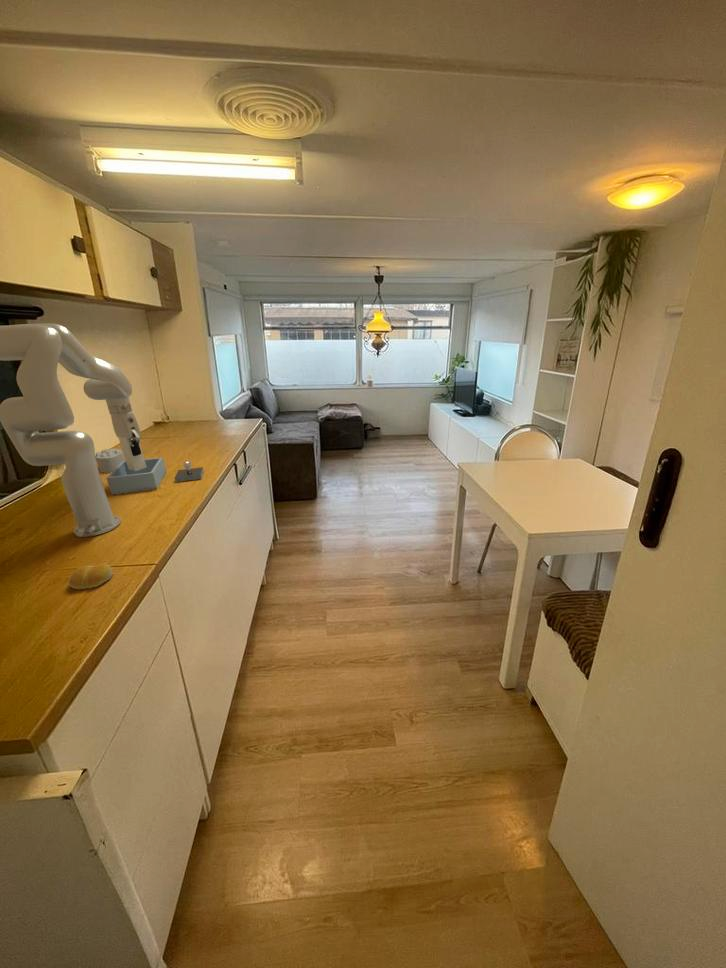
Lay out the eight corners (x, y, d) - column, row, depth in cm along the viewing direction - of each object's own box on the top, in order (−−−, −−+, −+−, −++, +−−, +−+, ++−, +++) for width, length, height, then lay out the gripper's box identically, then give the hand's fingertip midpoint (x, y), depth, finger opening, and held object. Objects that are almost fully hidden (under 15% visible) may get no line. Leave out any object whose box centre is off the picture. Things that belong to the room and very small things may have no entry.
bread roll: (106, 587, 92) (101, 574, 90) (65, 593, 90) (59, 579, 89) (119, 568, 99) (115, 555, 98) (82, 572, 98) (77, 560, 96)
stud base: (201, 479, 157) (198, 463, 154) (175, 482, 154) (171, 466, 151) (203, 471, 165) (200, 456, 163) (179, 474, 163) (175, 459, 160)
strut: (146, 467, 154) (137, 434, 148) (135, 471, 150) (125, 437, 144) (139, 465, 156) (130, 433, 150) (128, 469, 152) (118, 436, 146)
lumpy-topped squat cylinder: (127, 462, 180) (122, 445, 177) (124, 471, 169) (119, 452, 166) (101, 466, 176) (96, 449, 173) (97, 475, 165) (91, 456, 162)
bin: (157, 489, 148) (152, 472, 145) (111, 495, 144) (106, 478, 141) (166, 472, 166) (162, 457, 163) (126, 477, 162) (121, 461, 159)
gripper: (143, 408, 142) (154, 454, 150) (117, 405, 150) (129, 448, 157) (123, 412, 136) (136, 459, 144) (97, 409, 144) (111, 454, 151)
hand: (133, 453), depth 150 cm, fingers closed on strut, 4 cm apart
